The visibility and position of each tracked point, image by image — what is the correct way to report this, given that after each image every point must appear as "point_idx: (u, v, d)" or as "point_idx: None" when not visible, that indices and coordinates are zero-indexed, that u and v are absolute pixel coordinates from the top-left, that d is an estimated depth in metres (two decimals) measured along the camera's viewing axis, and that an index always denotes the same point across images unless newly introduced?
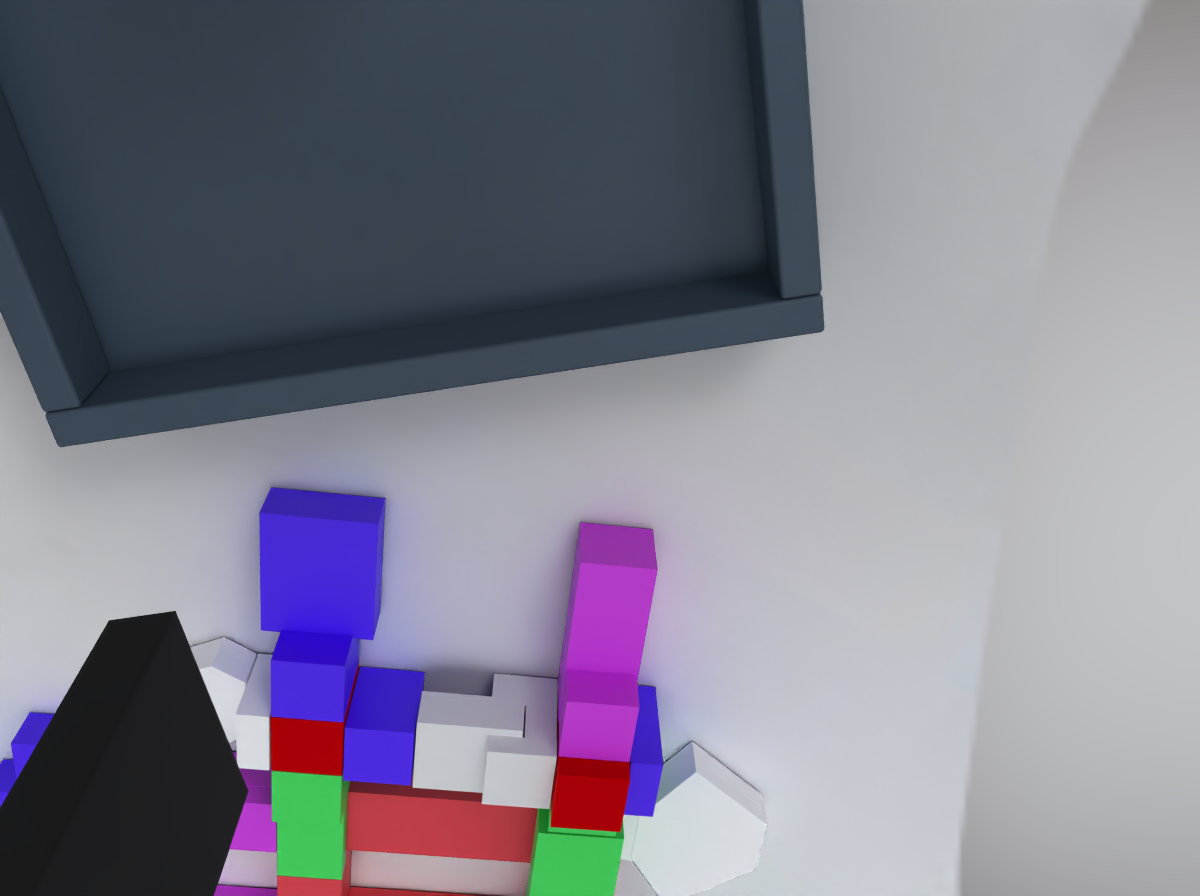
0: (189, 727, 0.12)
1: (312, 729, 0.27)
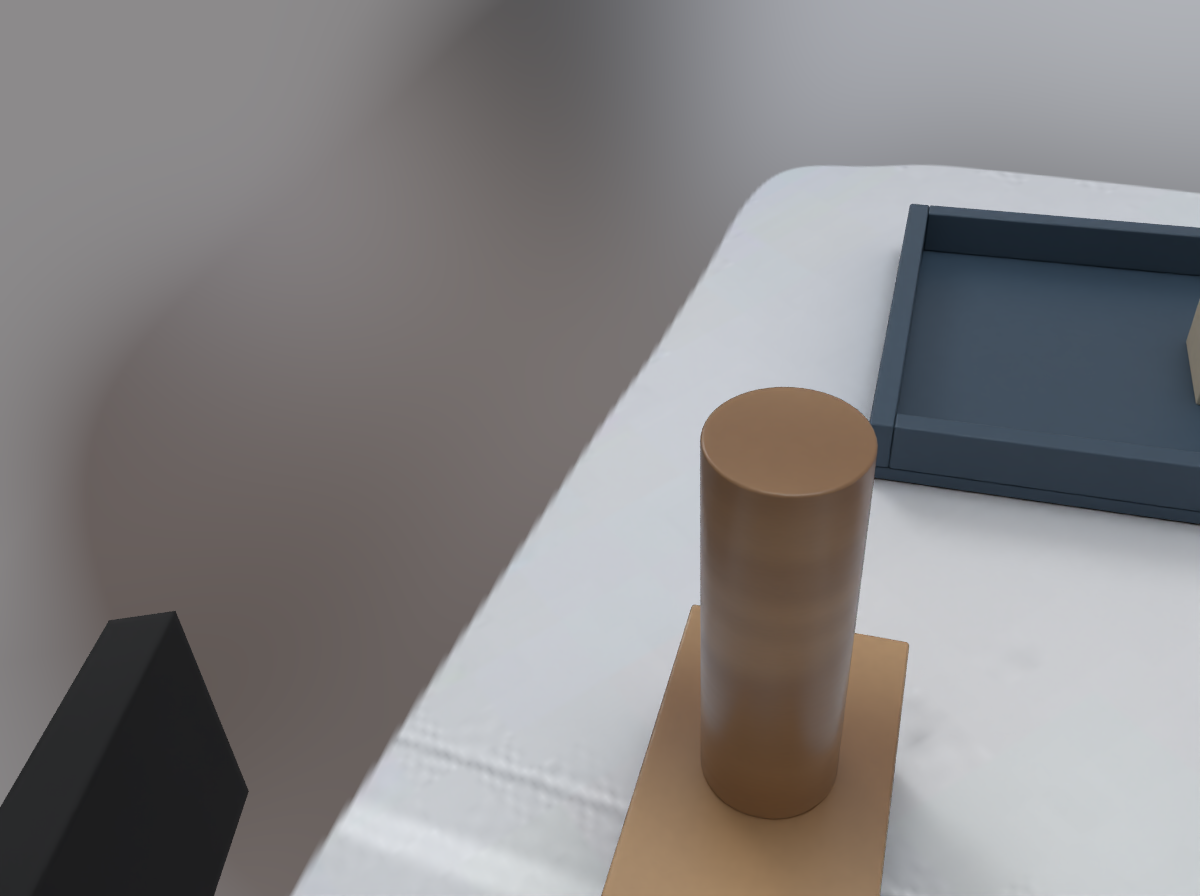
0: (189, 727, 0.12)
1: None
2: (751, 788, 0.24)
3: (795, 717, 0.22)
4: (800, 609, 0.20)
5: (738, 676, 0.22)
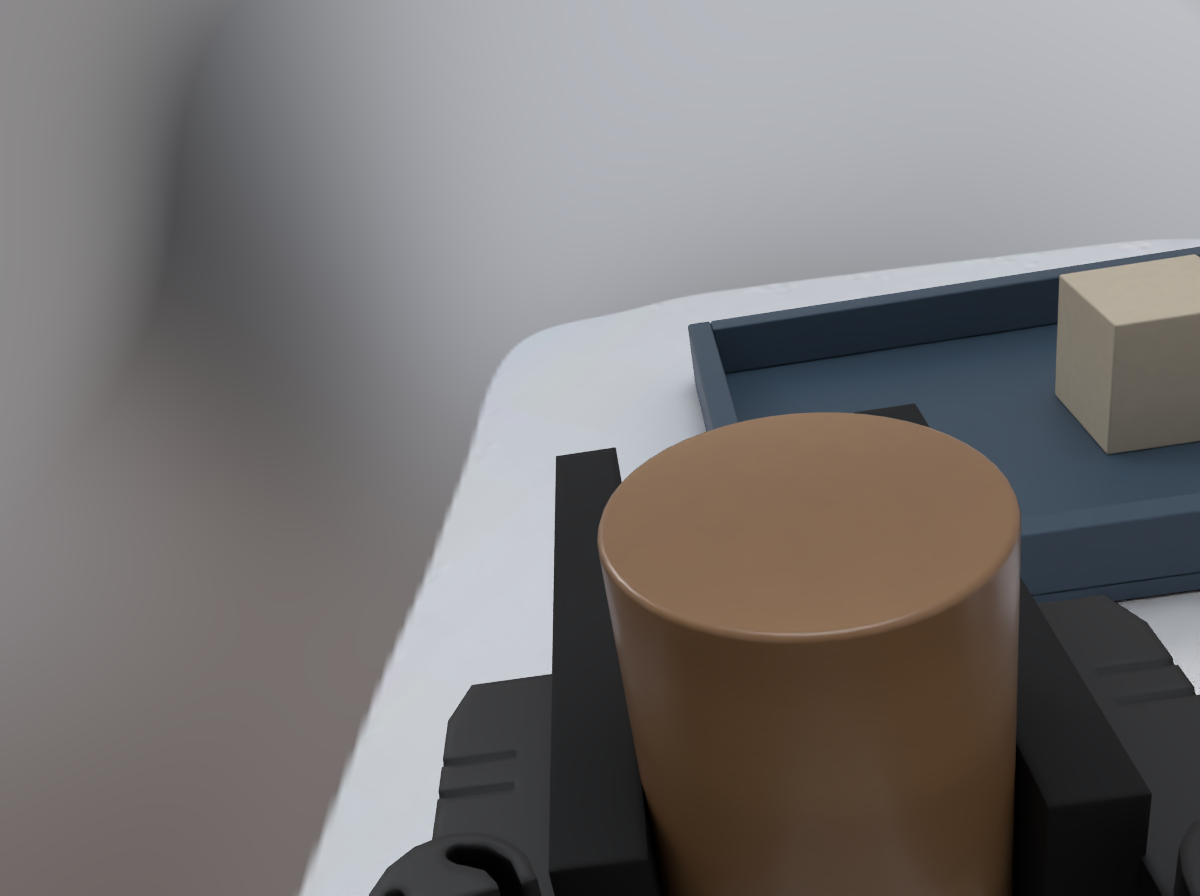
0: None
1: None
2: None
3: None
4: None
5: None
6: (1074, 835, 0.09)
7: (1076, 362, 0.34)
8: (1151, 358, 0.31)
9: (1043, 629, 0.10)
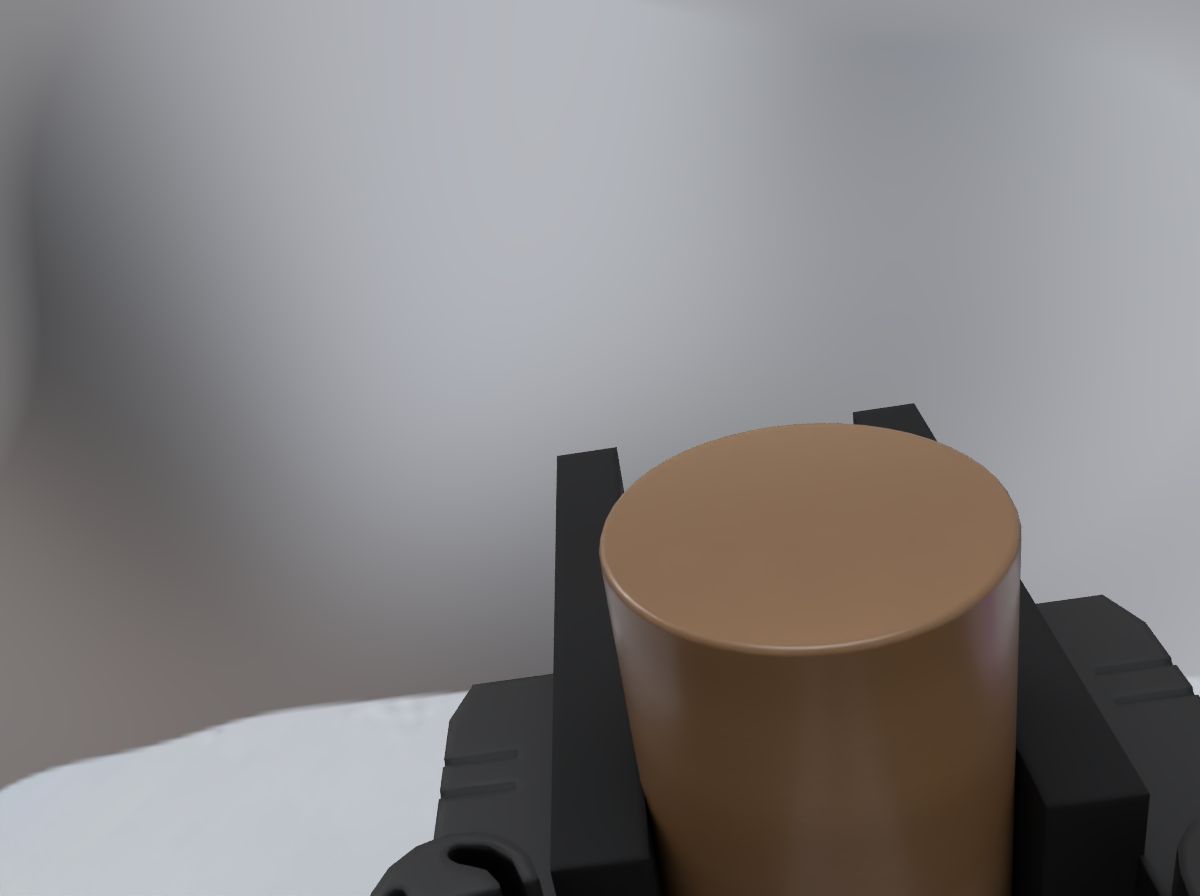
0: None
1: None
2: None
3: None
4: None
5: None
6: (1071, 835, 0.09)
7: None
8: None
9: (1041, 629, 0.10)
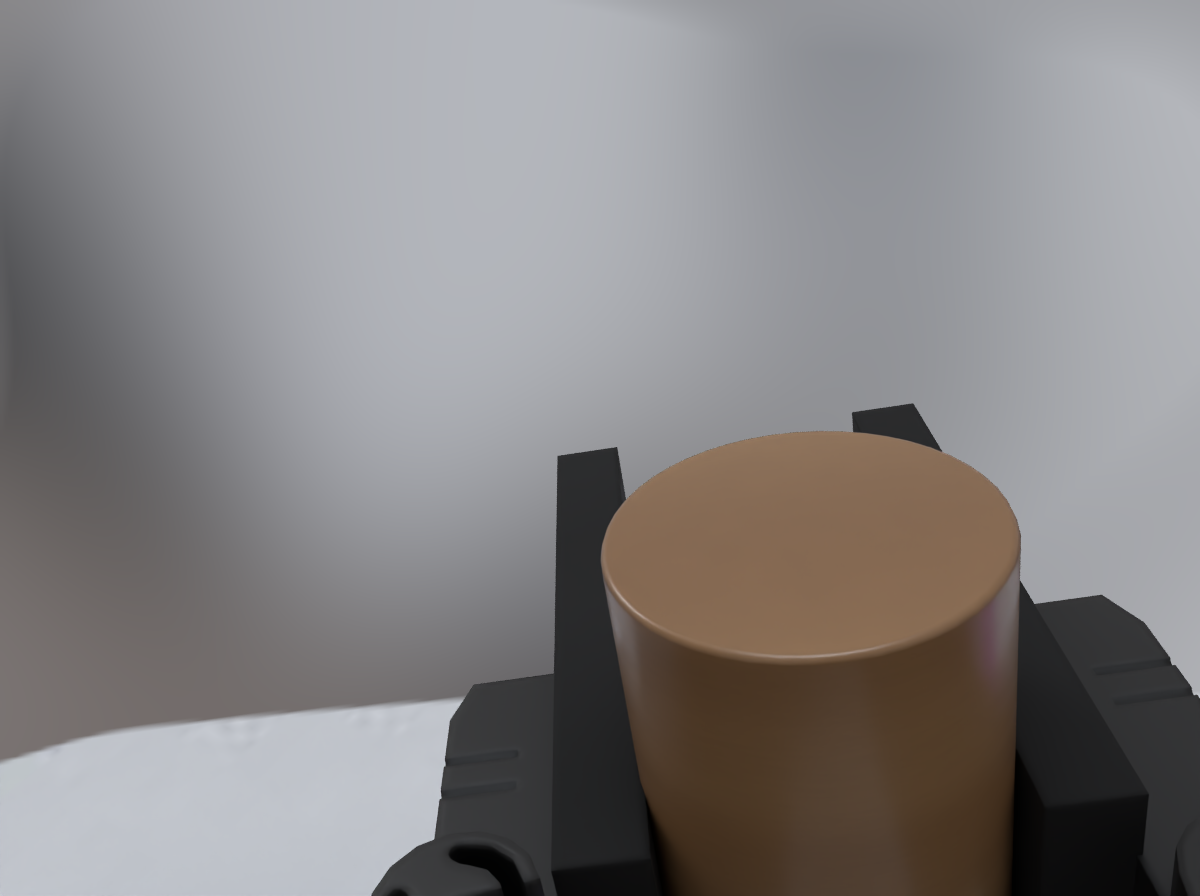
0: None
1: None
2: None
3: None
4: None
5: None
6: (1070, 835, 0.09)
7: None
8: None
9: (1040, 629, 0.10)
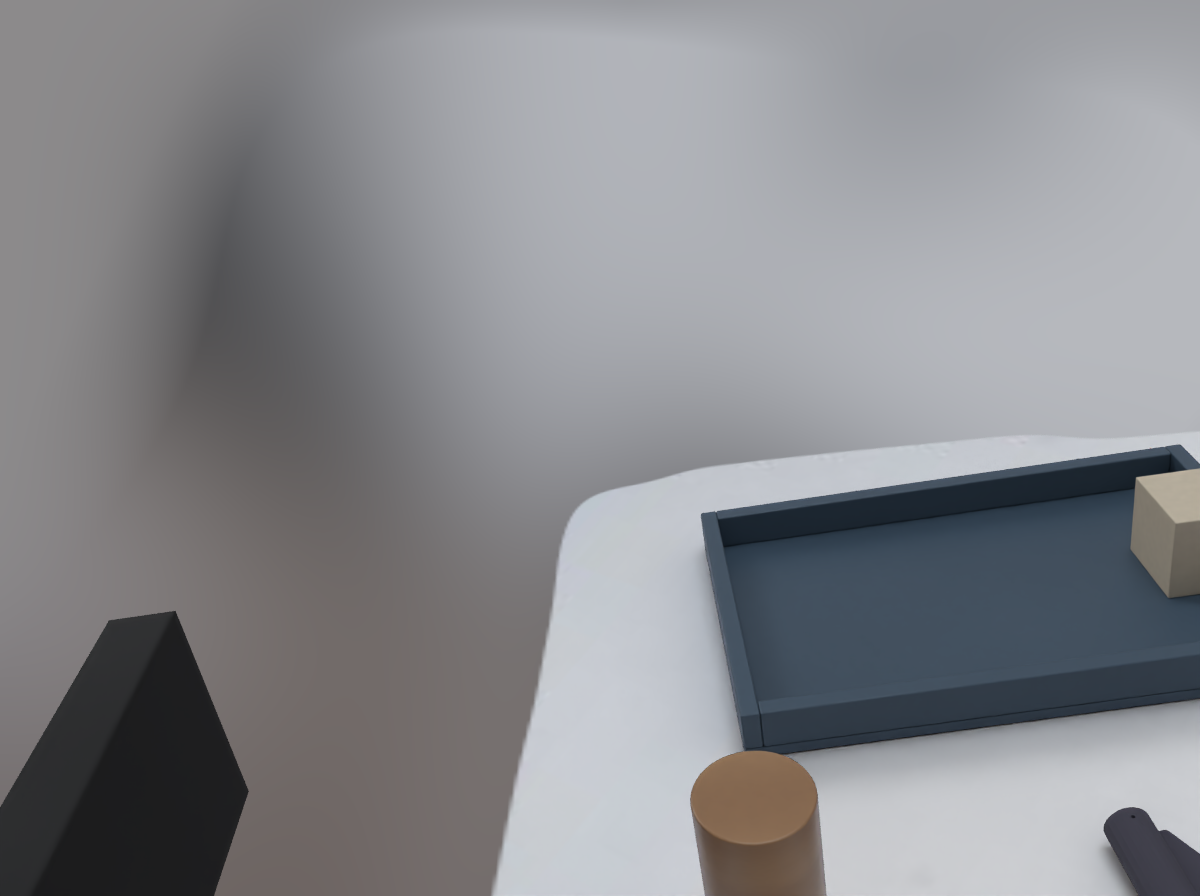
0: (189, 727, 0.12)
1: None
2: None
3: None
4: None
5: None
6: None
7: (1147, 535, 0.52)
8: (1198, 542, 0.50)
9: None
